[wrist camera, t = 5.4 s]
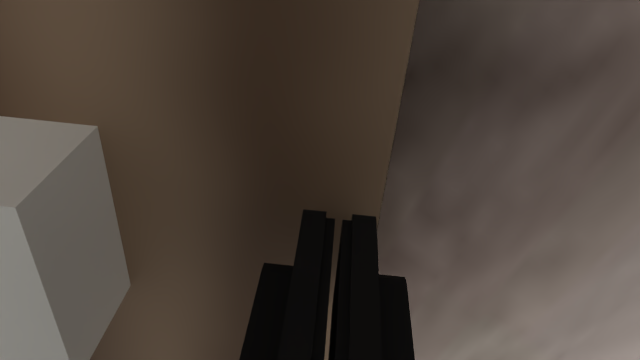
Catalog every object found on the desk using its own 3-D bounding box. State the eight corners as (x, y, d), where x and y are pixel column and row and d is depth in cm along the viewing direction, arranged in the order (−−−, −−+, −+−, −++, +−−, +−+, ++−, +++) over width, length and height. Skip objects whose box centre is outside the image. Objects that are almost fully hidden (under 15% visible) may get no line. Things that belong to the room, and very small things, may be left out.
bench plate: (425, -146, 10) (446, -149, 7) (345, 345, 19) (342, 419, 16) (-414, -221, 10) (-667, -249, 8) (-102, 295, 19) (-171, 360, 17)
